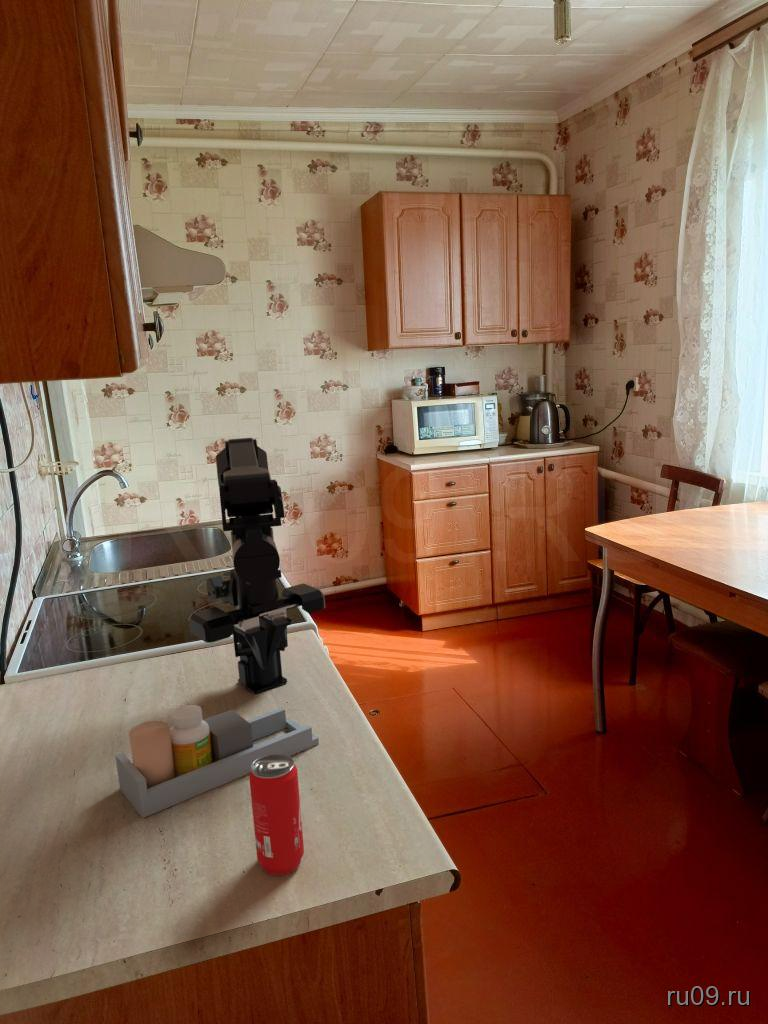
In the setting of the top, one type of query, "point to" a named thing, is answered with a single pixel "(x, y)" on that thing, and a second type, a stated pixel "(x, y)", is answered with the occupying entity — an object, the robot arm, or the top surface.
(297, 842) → the beverage can
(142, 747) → the jar
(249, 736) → the block
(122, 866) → the top surface
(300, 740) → the tray
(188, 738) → the supplement bottle
